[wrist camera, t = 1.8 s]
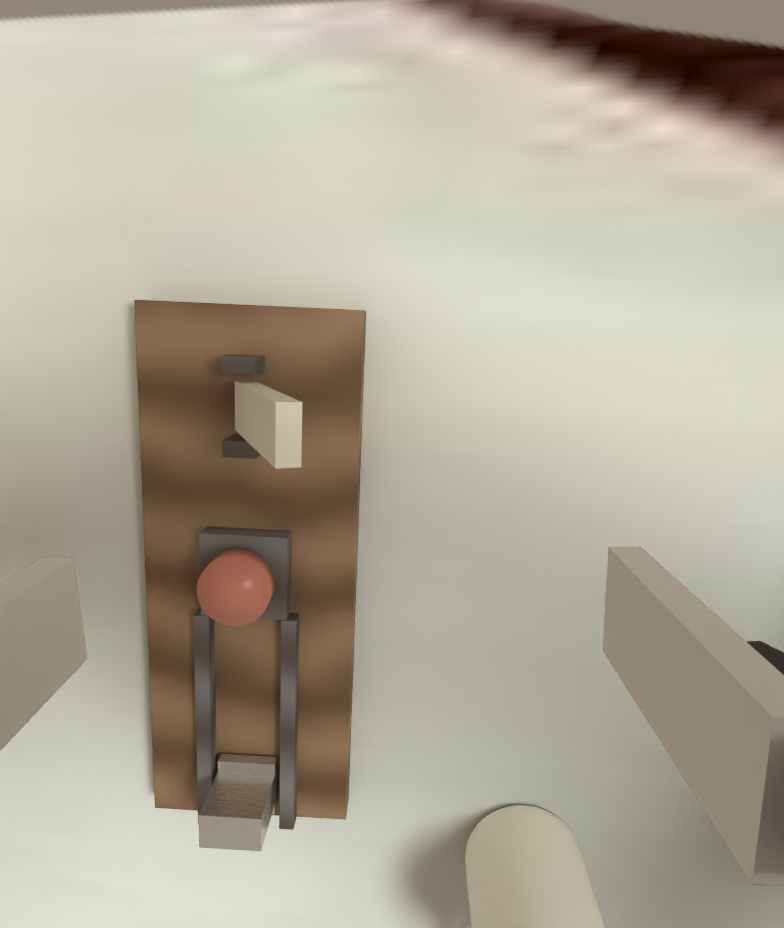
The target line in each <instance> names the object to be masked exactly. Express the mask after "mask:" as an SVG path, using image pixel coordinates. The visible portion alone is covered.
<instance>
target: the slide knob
mask: <svg viewBox="0 0 784 928" xmlns="http://www.w3.org/2000/svg"><path fill="white" fill-rule="evenodd" d="M276 807H277V757H270V756H253V755H236V754H221V755H220V758H219V760H218V772H217V775H216V777H215V779H214V781H213V784H212V786H211V788H210V790H209V793H208V795H207V797H206V800H205V802H204V804H203V806H202V809H201V811H200V813H199V847H202V848H218V849H234V850H250V851H261V850H262V846H263V843H264V839H265V836H266V832H267V829H268V825H269V822H270V818H271V815H272V814H275V810H276Z"/></svg>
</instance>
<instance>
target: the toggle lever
mask: <svg viewBox="0 0 784 928" xmlns="http://www.w3.org/2000/svg"><path fill="white" fill-rule="evenodd" d="M235 430H236V431H237V432H238V433H239V434H240V435H241V436H242V437H243V438H244V439H245V440H246V441H247V442H248V443H249V444H250V445H251V446H252V447H253V448H254V449H255V450H256V451H258V452H259V453H260V454H261V455H262V456H263V457H264V458H265V459H266V460H267V461H268V462H269V463H270V464H271V465H272V466H273V467H274V468H275V469H277V468H300V467H301V456H302V402H301V401H298V400H296V399H294V398H292V397H289V396H287V395H285V394H283V393H280V392H278V391H276V390H274V389H272V388H269V387H267V386H265V385H263V384H260V383H258V382H256V381H235Z"/></svg>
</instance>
